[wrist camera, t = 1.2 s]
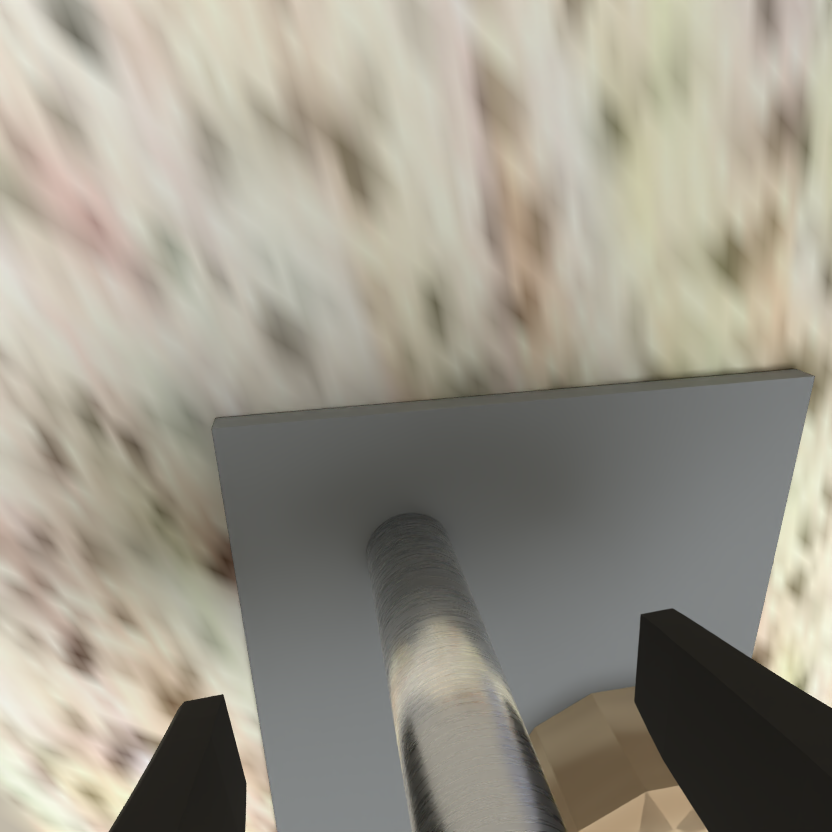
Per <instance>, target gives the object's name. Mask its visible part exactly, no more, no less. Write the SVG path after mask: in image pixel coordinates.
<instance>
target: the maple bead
mask: <svg viewBox="0 0 832 832" xmlns="http://www.w3.org/2000/svg"><path fill="white" fill-rule="evenodd" d="M634 697H635V686H634V687H628V688H621V689H615V690H609V691H603V692H597V693H591V694H590V695H588V696H586V697H585V698H583V699H581V700H580V701H578V702H576V703H575V704H573V705H571V706H570V707H568V708H566V709H565V710H563V711H561V712H560V713H558V714H556V715H555V716H553V717H551V718H550V719H548V720H546V721H545V722H543V723H541V724H540V725H538V726H536V727H535V728H534V729H533V731H532V732H531V733H530V735H529V737H530V740H531V742H532V745H533V747H534V750H535V752H536V755H537V757H538V760H539V762H540V765H541V767H542V770H543V772H544V775H545V777H546V780H547V782H548V785H549V787H550V789H551V792H552V794H553V797H554V799H555V802H556V804H557V807H558V809H559V812H560V814H561V817H562V819H563V822H564V824H565V827H566V829H567V832H708V830H707V829H706V827H705V826H704V824H703V822H702V821H701V819H700V818H699V816H698V815H697V813H696V812H695V810H694V809H693V807H692V805H691V804H690V802H689V801H688V799H687V798H686V796H685V794H684V793H683V791H682V790H681V788H680V786H679V785H678V783H677V782H676V780H675V779H674V777H673V775H672V774H671V772H670V771H669V769H668V767H667V766H666V764H665V763H664V761H663V759H662V757H661V755H660V753H659V751H658V749H657V747H656V746H655V744H654V742H653V740H652V738H651V736H650V734H649V732H648V730H647V728H646V725H645V723H644V721H643V719H642V717H641V715H640V713H639V711H638V709H637V707H636V705H635V702H634Z"/></svg>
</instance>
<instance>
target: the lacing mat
mask: <svg viewBox="0 0 832 832" xmlns="http://www.w3.org/2000/svg"><path fill="white" fill-rule="evenodd" d="M814 378H815V376H813V375H810V374H808V373H805V372H803V371H800V370H797V369H791V370H779V371H767V372H755V373H744V374H732V375H720V376H708V377H696V378H685V379H673V380H661V381H649V382H637V383H625V384H614V385H602V386H590V387H578V388H566V389H554V390H543V391H531V392H519V393H507V394H495V395H484V396H472V397H460V398H448V399H436V400H424V401H413V402H401V403H389V404H377V405H365V406H353V407H342V408H330V409H318V410H306V411H294V412H283V413H271V414H259V415H247V416H235V417H223V418H215V421H214V423H213V426H212V435H213V441H214V447H215V453H216V459H217V465H218V471H219V478H220V484H221V490H222V496H223V502H224V508H225V514H226V520H227V526H228V533H229V539H230V545H231V551H232V557H233V563H234V569H235V575H236V581H237V588H238V594H239V600H240V606H241V612H242V618H243V624H244V630H245V636H246V643H247V649H248V655H249V661H250V667H251V673H252V679H253V685H254V691H255V698H256V704H257V710H258V716H259V722H260V728H261V734H262V740H263V746H264V753H265V759H266V765H267V771H268V777H269V783H270V789H271V795H272V801H273V808H274V814H275V820H276V826H277V832H412V829H411V823H410V817H409V811H408V805H407V799H406V793H405V787H404V781H403V775H402V769H401V763H400V757H399V751H398V745H397V738H396V732H395V726H394V720H393V714H392V708H391V702H390V696H389V690H388V684H387V678H386V672H385V666H384V660H383V654H382V648H381V641H380V635H379V629H378V623H377V617H376V611H375V605H374V599H373V593H372V587H371V581H370V575H369V569H368V563H367V556H366V549H367V544H368V541H369V538H370V536H371V535H372V533H373V532H374V530H375V529H376V528H377V527H378V526H379V525H380V524H381V523H383V522H384V521H385V520H387V519H389V518H391V517H393V516H396V515H399V514H403V513H421V514H425V515H428V516H430V517H433V518H434V519H436V520H437V521H438V522H440V523H441V524H442V526H443V527H444V528H445V530H446V532H447V534H448V537H449V539H450V542H451V544H452V546H453V549H454V551H455V554H456V556H457V559H458V561H459V564H460V566H461V569H462V571H463V574H464V576H465V579H466V581H467V584H468V586H469V589H470V591H471V594H472V596H473V599H474V601H475V604H476V606H477V608H478V611H479V613H480V616H481V618H482V621H483V623H484V626H485V628H486V631H487V633H488V636H489V638H490V641H491V643H492V646H493V648H494V651H495V653H496V656H497V658H498V661H499V663H500V666H501V668H502V670H503V673H504V675H505V678H506V680H507V683H508V685H509V688H510V690H511V693H512V695H513V698H514V700H515V703H516V705H517V708H518V710H519V713H520V715H521V718H522V720H523V723H524V725H525V727H526V730H527V732H528V735H530V733H531V732H532V731H533V729H534V728H535V727H536V726H538V725H540V724H541V723H543V722H545V721H546V720H548V719H550V718H551V717H553V716H555V715H556V714H558V713H560V712H561V711H563V710H565V709H566V708H568V707H570V706H571V705H573V704H575V703H576V702H578V701H580V700H581V699H583V698H585V697H586V696H588V695H590V694H591V693H597V692H603V691H609V690H615V689H621V688H628V687H634V686H635V683H636V670H637V656H638V643H639V630H640V616H641V614H645V613H650V612H655V611H660V610H665V609H671V608H673V609H675V610H677V611H678V612H680V613H682V614H683V615H685V616H686V617H688V618H690V619H691V620H693V621H694V622H696V623H697V624H699V625H701V626H702V627H704V628H705V629H707V630H708V631H710V632H711V633H713V634H714V635H716V636H717V637H719V638H721V639H722V640H724V641H725V642H727V643H728V644H730V645H731V646H733V647H734V648H736V649H737V650H739V651H741V652H742V653H744V654H745V655H747V656H748V657H750V658H752V654H753V649H754V645H755V640H756V636H757V632H758V627H759V623H760V618H761V614H762V609H763V605H764V600H765V596H766V591H767V587H768V583H769V578H770V574H771V569H772V565H773V560H774V556H775V551H776V547H777V542H778V538H779V534H780V529H781V525H782V520H783V516H784V511H785V507H786V502H787V498H788V493H789V489H790V485H791V480H792V476H793V471H794V467H795V462H796V458H797V453H798V449H799V444H800V440H801V436H802V431H803V427H804V422H805V418H806V413H807V409H808V404H809V400H810V395H811V391H812V387H813V382H814Z"/></svg>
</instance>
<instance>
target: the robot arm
mask: <svg viewBox="0 0 832 832" xmlns="http://www.w3.org/2000/svg"><path fill="white" fill-rule="evenodd" d="M634 702H635V705H636V707H637V709H638V711H639V713H640V715H641V717H642V719H643V721H644V723H645V725H646V728H647V730H648V732H649V734H650V736H651V738H652V740H653V742H654V744H655V746H656V747H657V749H658V751H659V753H660V755H661V757H662V759H663V761H664V763H665V764H666V766H667V767H668V769H669V771H670V772H671V774H672V775H673V777H674V779H675V780H676V782H677V783H678V785H679V786H680V788H681V790H682V791H683V793H684V794H685V796H686V798H687V799H688V801H689V802H690V804H691V805H692V807H693V809H694V810H695V812H696V813H697V815H698V816H699V818H700V819H701V821H702V822H703V824H704V826H705V827H706V829H707V830H708V832H832V708H831V707H829V706H827V705H826V704H824V703H822V702H821V701H819V700H817V699H816V698H814V697H812V696H811V695H809V694H807V693H806V692H804V691H802V690H801V689H799V688H797V687H796V686H794V685H793V684H791V683H789V682H788V681H786V680H784V679H783V678H781V677H780V676H778V675H776V674H775V673H773V672H772V671H770V670H769V669H767V668H765V667H764V666H762V665H761V664H759V663H758V662H756V661H754V660H753V659H751V658H750V657H748V656H747V655H745V654H744V653H742V652H741V651H739V650H737V649H736V648H734V647H733V646H731V645H730V644H728V643H727V642H725V641H724V640H722V639H721V638H719V637H717V636H716V635H714V634H713V633H711V632H710V631H708V630H707V629H705V628H704V627H702V626H701V625H699V624H697V623H696V622H694V621H693V620H691V619H690V618H688V617H686V616H685V615H683V614H682V613H680V612H678V611H677V610H675V609H673V608H671V609H665V610H660V611H655V612H650V613H645V614H641V616H640V630H639V643H638V656H637V670H636V683H635V697H634ZM245 821H246V780H245V776H244V772H243V769H242V765H241V761H240V757H239V753H238V749H237V745H236V742H235V738H234V734H233V730H232V726H231V722H230V718H229V715H228V711H227V707H226V703H225V699H224V695H223V694H222V695H217V696H212V697H207V698H201V699H196V700H191V701H186V702H184V703H183V704H182V705H181V706H180V708H179V709H178V711H177V713H176V714H175V716H174V718H173V720H172V722H171V724H170V726H169V728H168V730H167V731H166V733H165V735H164V737H163V739H162V741H161V743H160V744H159V746H158V748H157V750H156V752H155V753H154V755H153V757H152V759H151V761H150V763H149V764H148V766H147V768H146V770H145V771H144V773H143V775H142V777H141V778H140V780H139V782H138V784H137V785H136V787H135V789H134V791H133V792H132V794H131V796H130V797H129V799H128V801H127V802H126V804H125V806H124V807H123V809H122V811H121V812H120V814H119V816H118V817H117V819H116V821H115V822H114V824H113V826H112V827H111V829H110V831H109V832H245Z"/></svg>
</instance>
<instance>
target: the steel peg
mask: <svg viewBox="0 0 832 832" xmlns="http://www.w3.org/2000/svg"><path fill="white" fill-rule="evenodd" d="M366 556H367V563H368V569H369V575H370V581H371V587H372V593H373V599H374V605H375V611H376V617H377V623H378V629H379V635H380V641H381V648H382V654H383V660H384V666H385V672H386V678H387V684H388V690H389V696H390V702H391V708H392V714H393V720H394V726H395V732H396V738H397V745H398V751H399V757H400V763H401V769H402V775H403V781H404V787H405V793H406V799H407V805H408V811H409V817H410V823H411V829H412V832H567V829H566V827H565V824H564V822H563V819H562V817H561V814H560V812H559V809H558V807H557V804H556V802H555V799H554V797H553V794H552V792H551V789H550V787H549V785H548V782H547V780H546V777H545V775H544V772H543V770H542V767H541V765H540V762H539V760H538V757H537V755H536V752H535V750H534V747H533V745H532V742H531V740H530V737H529V735H528V732H527V730H526V727H525V725H524V723H523V720H522V718H521V715H520V713H519V710H518V708H517V705H516V703H515V700H514V698H513V695H512V693H511V690H510V688H509V685H508V683H507V680H506V678H505V675H504V673H503V670H502V668H501V666H500V663H499V661H498V658H497V656H496V653H495V651H494V648H493V646H492V643H491V641H490V638H489V636H488V633H487V631H486V628H485V626H484V623H483V621H482V618H481V616H480V613H479V611H478V608H477V606H476V604H475V601H474V599H473V596H472V594H471V591H470V589H469V586H468V584H467V581H466V579H465V576H464V574H463V571H462V569H461V566H460V564H459V561H458V559H457V556H456V554H455V551H454V549H453V546H452V544H451V542H450V539H449V537H448V534H447V532H446V530H445V528H444V527H443V526H442V524H441V523H440V522H438V521H437V520H436V519H434V518H433V517H430V516H428V515H425V514H421V513H403V514H399V515H396V516H393V517H391V518H389V519H387V520H385V521H384V522H383V523H381V524H380V525H379V526H378V527H377V528H376V529H375V530H374V532H373V533H372V535H371V536H370V538H369V541H368V544H367V549H366Z"/></svg>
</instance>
